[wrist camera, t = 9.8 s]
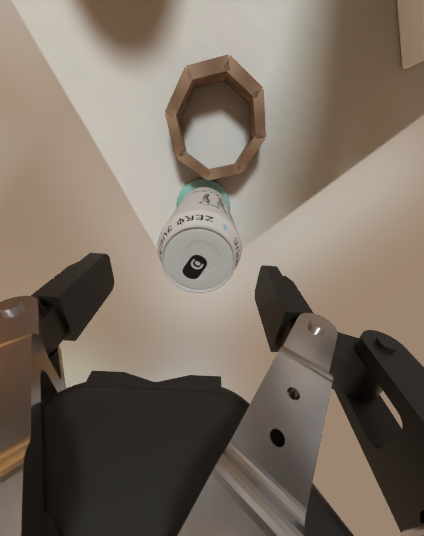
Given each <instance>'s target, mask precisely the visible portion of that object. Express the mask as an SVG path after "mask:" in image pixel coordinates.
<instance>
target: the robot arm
mask: <svg viewBox="0 0 424 536" xmlns="http://www.w3.org/2000/svg"><path fill="white" fill-rule="evenodd" d="M113 286H114V277H113V272H112V268H111V263H110V258H109V256H108V255H107V254H100V253H89V254H88V255H87V256H86V257H84V258H83V259H82V260H81V261H79V262H77V263H75V264H73V265H70V266H68V267H67V268H65V269H64V270H63V271H62V272H61V273H60V274H58V275H57V276H55V277H54V279H51V280H50V281H49V282H48V283H46V284H45V285H44V286H43V287H41V288H40V289H39V290H37V291H36V292H35V293H34V294H32V295H31V296H18V297H13V298H10V299H7V300H4V301H2V302H0V536H354V535H353V534H352V533H351V531H350V530H349V529H348V528H347V526H346V525H345V524H344V522H343V521H342V520H341V519H340V517H339V516H338V515H337V513H336V512H335V511H334V510H333V508H332V507H331V506H330V505H329V503H328V502H327V501H326V499H325V498H324V497H323V496H322V494H321V493H320V492H319V491H318V489H317V488H316V487H315V485H314V484H313V483H312V481H313V476H314V471H315V466H316V461H317V456H318V451H319V446H320V441H321V437H322V431H323V427H324V422H325V417H326V412H327V407H328V402H329V397H330V392H331V388H332V389H334V390H335V392H336V394H337V397H338V398H339V401H340V403H341V405H342V407H343V409H344V411H345V414H346V416H347V418H348V420H349V422H350V424H351V427H352V429H353V430H354V433H355V435H356V437H357V439H358V441H359V443H360V445H361V448H362V450H363V452H364V454H365V456H366V459H367V461H368V463H369V465H370V467H371V469H372V471H373V473H374V476H375V478H376V480H377V482H378V484H379V486H380V488H381V491H382V493H383V495H384V497H385V499H386V501H387V504H388V506H389V508H390V510H391V512H392V514H393V516H394V518H395V521H396V523H397V525H398V527H399V529H400V531H401V535H400V536H424V367H423V366H422V365H421V364H420V363H419V362H418V361H417V360H416V359H415V358H414V356H413V355H412V354H411V353H410V352H409V351H408V350H407V349H406V348H405V347H404V346H403V345H402V344H401V343H399V342H398V341H397V340H395V339H394V338H392V337H390V336H388V335H386V334H384V333H381V332H378V331H374V330H367V331H364V332H363V333H362V335H361V336H360V338H356V337H352V336H349V335H345V334H342V333H339V332H337V330H336V328H335V326H334V325H333V324H332V323H331V322H330V321H328V320H327V319H325V318H324V317H321V316H319V315H317V314H314V313H313V312H312V310H311V309H310V307H309V306H308V304H307V302H306V301H305V299H304V298H303V296H302V295H301V293H300V292H299V290H298V289H297V287H296V285H295V284H294V282H293V281H291V280H290V279H289V278H287V277H286V276H282V274H281V273H280V271H279V269H278V268H277V267H276V266H261V268H260V272H259V276H258V280H257V285H256V289H255V301H256V304H257V307H258V311H259V314H260V317H261V321H262V324H263V327H264V330H265V334H266V337H267V341H268V344H269V347H270V350H271V352H278V353H277V355H276V357H275V359H274V360H273V362H272V364H271V366H270V368H269V370H268V372H267V373H266V375H265V377H264V379H263V381H262V383H261V385H260V387H259V388H258V391H257V392H256V394H255V396H254V398H253V400H252V401H251V403H250V404H249V403H248V402H247V401H245V400H244V399H243V398H242V397H240V396H239V395H237V394H236V393H234V392H232V391H230V390H228V389H226V388H223V387H221V377H217V376H195V375H189V376H184V377H179V378H175V379H170V380H165V381H161V382H152V381H149V380H146V379H143V378H140V377H137V376H134V375H131V374H128V373H125V372H107V371H92V372H91V374H90V375H89V377H88V379H87V381H86V382H85V383H81V384H78V385H74V386H72V387H70V388H67V389H66V385H65V378H64V370H63V363H62V355H61V349H60V347H59V344H60V343H61V342H62V340H69V341H76V340H77V338H78V337H79V335H80V334H81V332H82V331H83V330H84V328H85V327H86V326H87V324H88V323H89V322H90V320H91V319H92V318H93V316H94V315H95V313H96V312H97V311H98V309H99V308H100V306H101V305H102V304H103V302H104V301H105V300H106V298H107V297H108V295H109V294H110V293H111V291H112V290H113ZM382 391H384V392H385V394H386V395H387V397H388V398H389V399H390V401H391V402H392V404H393V405H394V407H395V408H396V410H397V411H398V413H399V415H400V417H401V420H402V425H403V428H402V429H401V427H400V426H399V424H398V422H397V421H396V419H395V418H394V416H393V415H392V413H391V412H390V410H389V408H388V407H387V405H386V404H385V402H384V401H383V399H382V398H381V396H380V395H379V394H380V393H381V392H382Z"/></svg>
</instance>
